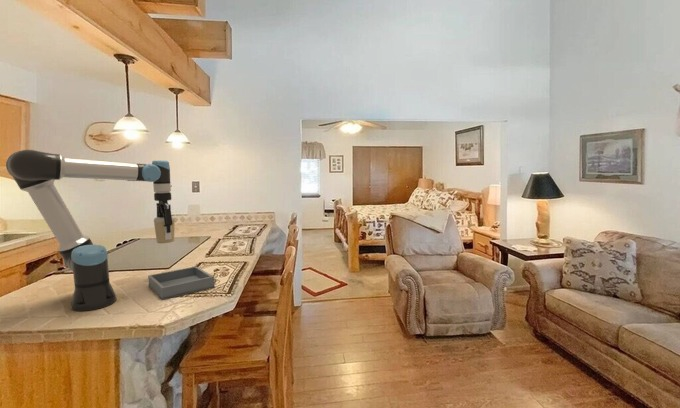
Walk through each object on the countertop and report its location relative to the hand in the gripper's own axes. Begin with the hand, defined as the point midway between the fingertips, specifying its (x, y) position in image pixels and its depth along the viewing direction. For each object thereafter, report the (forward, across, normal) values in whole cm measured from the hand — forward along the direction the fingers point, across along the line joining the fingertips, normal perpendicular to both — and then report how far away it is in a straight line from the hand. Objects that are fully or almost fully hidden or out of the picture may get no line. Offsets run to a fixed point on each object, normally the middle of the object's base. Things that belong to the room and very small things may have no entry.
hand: (165, 237), depth 178 cm
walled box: (+20, -20, 0) cm, 28 cm away
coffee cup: (+2, 0, 0) cm, 2 cm away
